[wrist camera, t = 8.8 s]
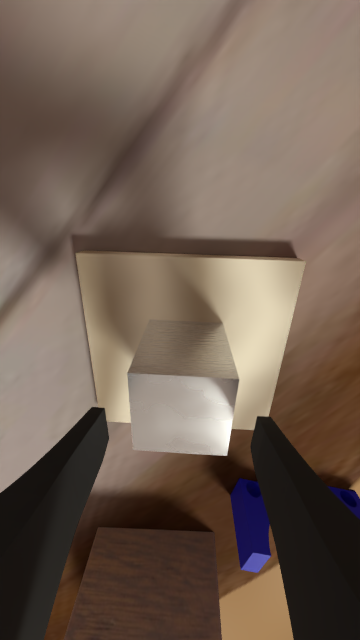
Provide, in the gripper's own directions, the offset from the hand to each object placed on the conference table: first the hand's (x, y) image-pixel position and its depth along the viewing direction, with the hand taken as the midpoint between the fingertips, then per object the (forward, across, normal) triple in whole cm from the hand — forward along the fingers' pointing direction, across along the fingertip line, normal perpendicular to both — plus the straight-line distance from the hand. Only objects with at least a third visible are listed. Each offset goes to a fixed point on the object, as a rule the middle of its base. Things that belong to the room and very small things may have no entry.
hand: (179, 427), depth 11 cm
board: (+8, 0, 0) cm, 8 cm away
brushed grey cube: (+6, 0, 0) cm, 6 cm away
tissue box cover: (+8, +2, +39) cm, 40 cm away
